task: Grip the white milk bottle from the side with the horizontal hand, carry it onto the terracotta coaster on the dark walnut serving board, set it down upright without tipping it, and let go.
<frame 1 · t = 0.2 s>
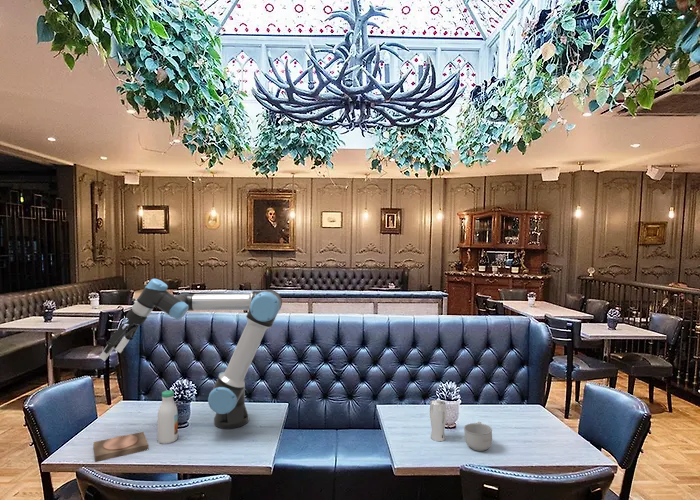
hand: (110, 355, 178), 35 cm above the table, tool tilted 35°, fingers open, 13 cm apart
beer glass: (438, 438, 179), on the table
serving board: (120, 448, 169), on the table
milk bottle: (167, 440, 176), on the table
teacup: (478, 446, 173), on the table
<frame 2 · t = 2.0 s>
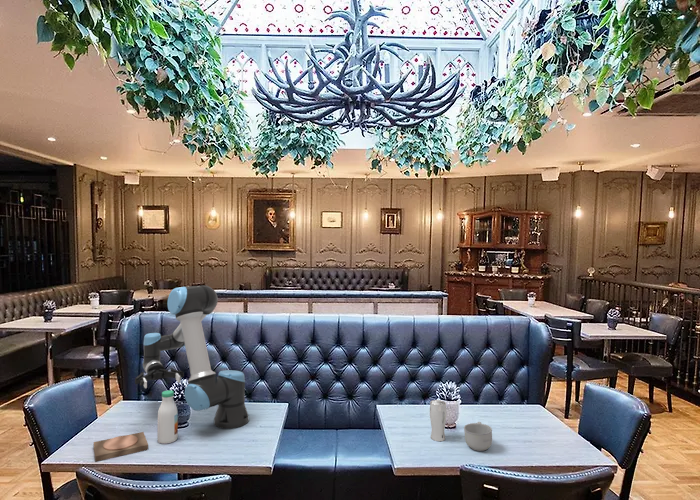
hand: (163, 382, 185), 21 cm above the table, tool horizontal, fingers open, 13 cm apart
nothing on the table moved.
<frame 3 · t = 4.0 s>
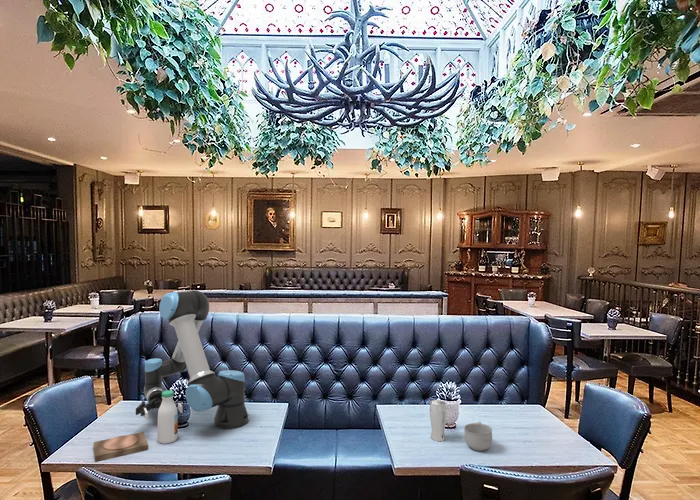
hand: (164, 412, 180), 10 cm above the table, tool horizontal, fingers open, 13 cm apart
nothing on the table moved.
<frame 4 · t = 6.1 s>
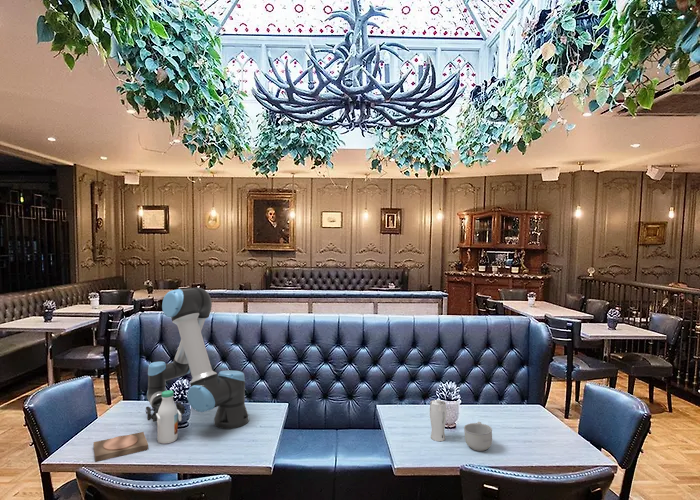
hand: (170, 419, 172), 10 cm above the table, tool horizontal, fingers closed on milk bottle, 7 cm apart
milk bottle: (167, 440, 176), on the table, touching gripper
everything else where it was.
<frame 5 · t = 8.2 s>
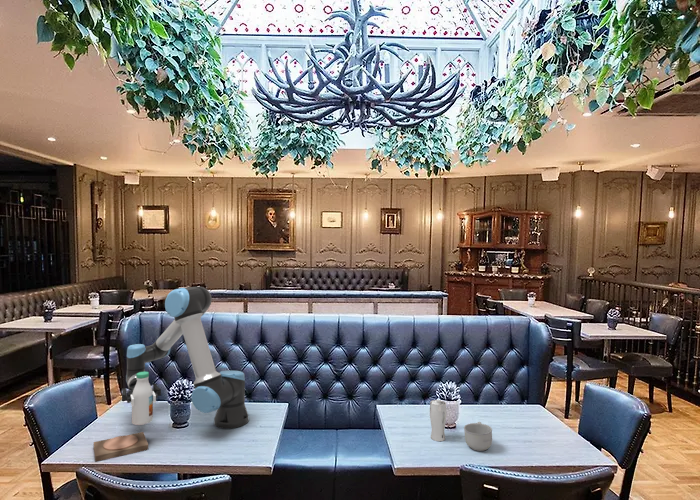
hand: (144, 401, 170), 19 cm above the table, tool horizontal, fingers closed on milk bottle, 7 cm apart
milk bottle: (142, 422, 174), point 8 cm above the table, touching gripper
everything else where it was.
when the fingers open (13 cm above the table, at t = 10.2 s): milk bottle stays where it is, resting on serving board.
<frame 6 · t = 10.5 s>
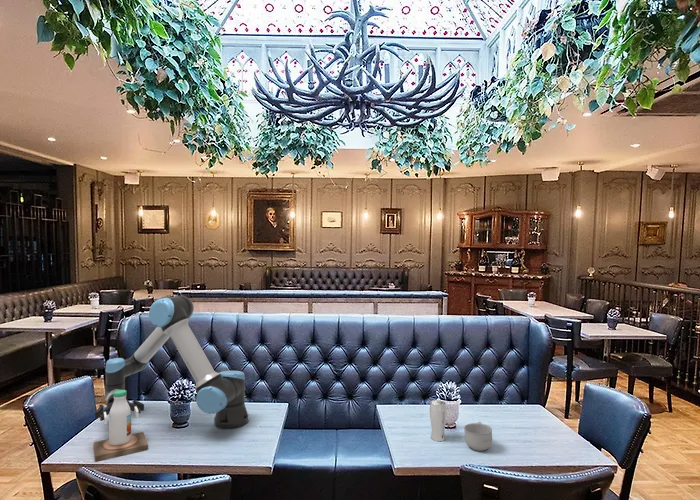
hand: (121, 417, 165), 13 cm above the table, tool horizontal, fingers open, 10 cm apart
milk bottle: (120, 442, 169), point 2 cm above the table, touching serving board
everything else where it was.
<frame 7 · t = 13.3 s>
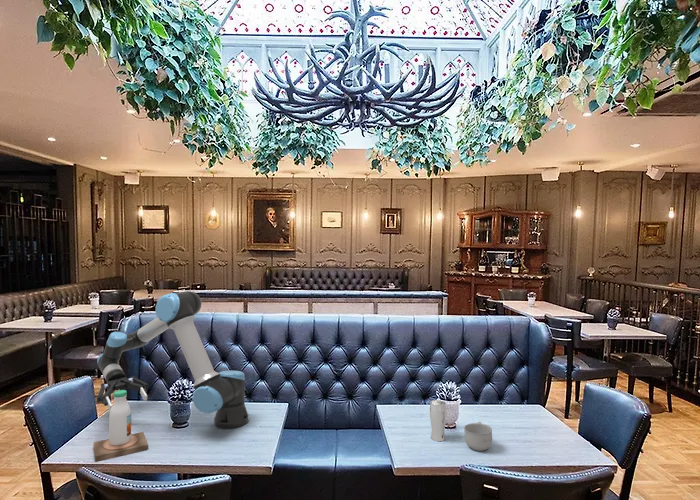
hand: (129, 403, 179), 14 cm above the table, tool tilted 70°, fingers open, 13 cm apart
nothing on the table moved.
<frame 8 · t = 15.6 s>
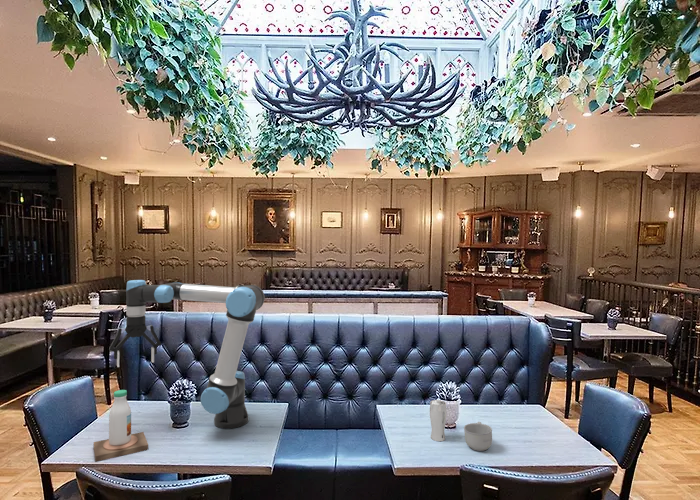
hand: (135, 364, 186), 29 cm above the table, tool pointing down, fingers open, 13 cm apart
nothing on the table moved.
at the end: milk bottle inside the target area on the serving board (0.2 cm from its centre), point 2.4 cm above the serving board's base; milk bottle tilted 0°; the gripper is holding nothing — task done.
